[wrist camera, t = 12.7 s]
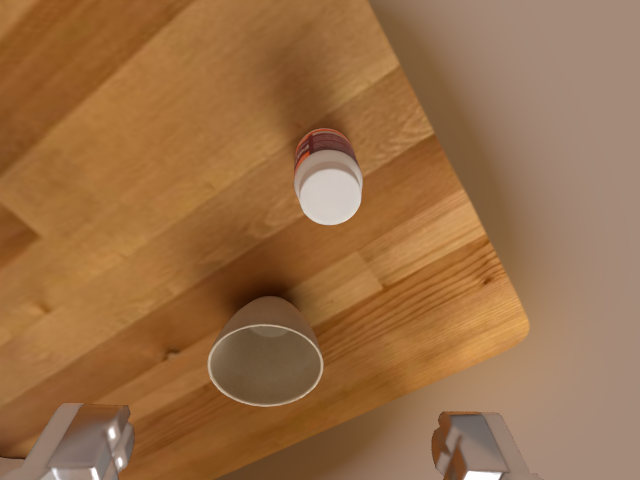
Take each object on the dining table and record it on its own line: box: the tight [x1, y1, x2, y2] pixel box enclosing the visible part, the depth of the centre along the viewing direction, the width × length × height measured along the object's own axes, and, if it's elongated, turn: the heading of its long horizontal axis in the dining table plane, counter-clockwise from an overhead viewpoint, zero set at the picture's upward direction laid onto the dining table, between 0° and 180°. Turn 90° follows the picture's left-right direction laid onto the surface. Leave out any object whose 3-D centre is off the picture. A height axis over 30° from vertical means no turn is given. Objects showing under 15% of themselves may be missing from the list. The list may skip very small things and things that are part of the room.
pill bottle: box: [294, 128, 363, 225], centre depth 29 cm, size 5×5×8 cm
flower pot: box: [207, 296, 323, 406], centre depth 38 cm, size 10×10×7 cm
